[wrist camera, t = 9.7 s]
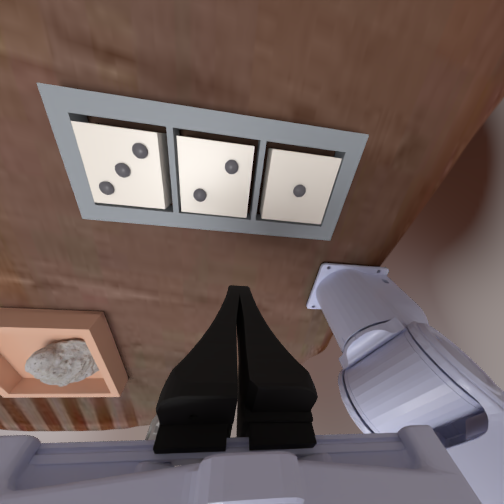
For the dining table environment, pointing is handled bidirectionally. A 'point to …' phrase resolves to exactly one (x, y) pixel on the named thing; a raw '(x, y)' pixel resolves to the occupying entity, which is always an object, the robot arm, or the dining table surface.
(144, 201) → the tile three
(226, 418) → the robot arm
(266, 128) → the board
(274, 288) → the dining table surface
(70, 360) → the stone
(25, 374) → the stone dish
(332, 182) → the tile one
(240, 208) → the tile two
